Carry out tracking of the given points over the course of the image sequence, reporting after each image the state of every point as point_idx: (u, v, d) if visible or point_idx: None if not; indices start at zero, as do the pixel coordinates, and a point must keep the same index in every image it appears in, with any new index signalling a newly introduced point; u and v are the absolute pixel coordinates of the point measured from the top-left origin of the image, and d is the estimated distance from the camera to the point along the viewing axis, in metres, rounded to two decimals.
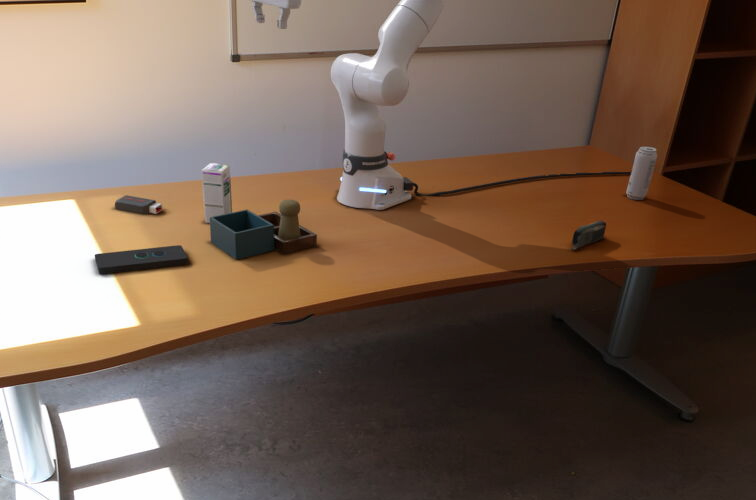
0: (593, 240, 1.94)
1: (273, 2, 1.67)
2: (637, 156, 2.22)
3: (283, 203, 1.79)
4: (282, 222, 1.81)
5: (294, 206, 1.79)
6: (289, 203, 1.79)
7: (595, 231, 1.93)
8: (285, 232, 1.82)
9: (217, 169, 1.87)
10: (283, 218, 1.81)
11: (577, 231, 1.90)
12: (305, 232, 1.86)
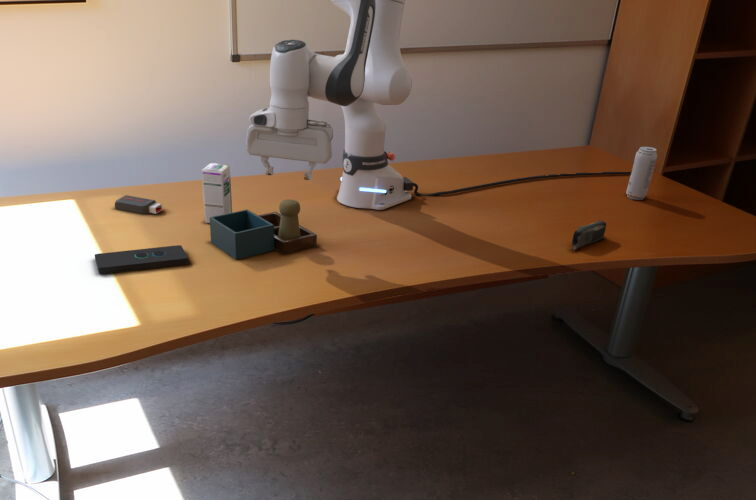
0: (593, 240, 1.94)
1: (303, 158, 1.72)
2: (637, 156, 2.22)
3: (283, 203, 1.79)
4: (282, 222, 1.81)
5: (294, 206, 1.79)
6: (289, 203, 1.79)
7: (595, 231, 1.93)
8: (285, 232, 1.82)
9: (217, 169, 1.87)
10: (283, 218, 1.81)
11: (577, 231, 1.90)
12: (305, 232, 1.86)
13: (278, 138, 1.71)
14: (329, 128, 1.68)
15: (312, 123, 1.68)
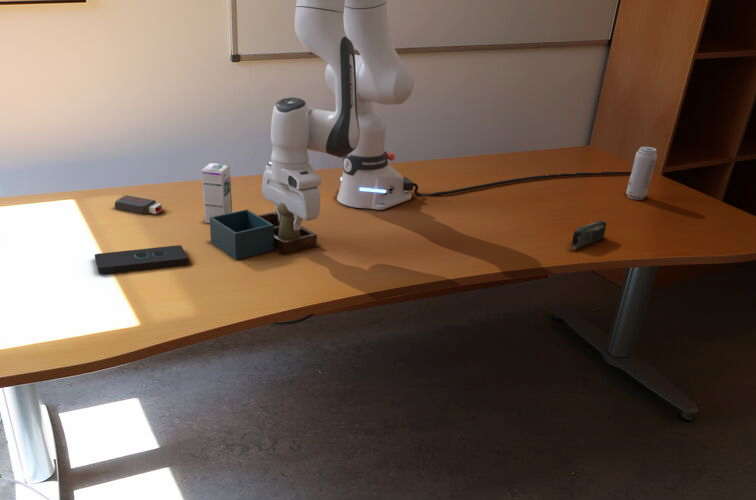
0: (593, 240, 1.94)
1: None
2: (637, 156, 2.22)
3: (283, 203, 1.79)
4: (282, 222, 1.81)
5: None
6: None
7: (595, 231, 1.93)
8: (285, 232, 1.82)
9: (217, 169, 1.87)
10: (283, 218, 1.81)
11: (577, 231, 1.90)
12: (305, 232, 1.86)
13: None
14: None
15: None
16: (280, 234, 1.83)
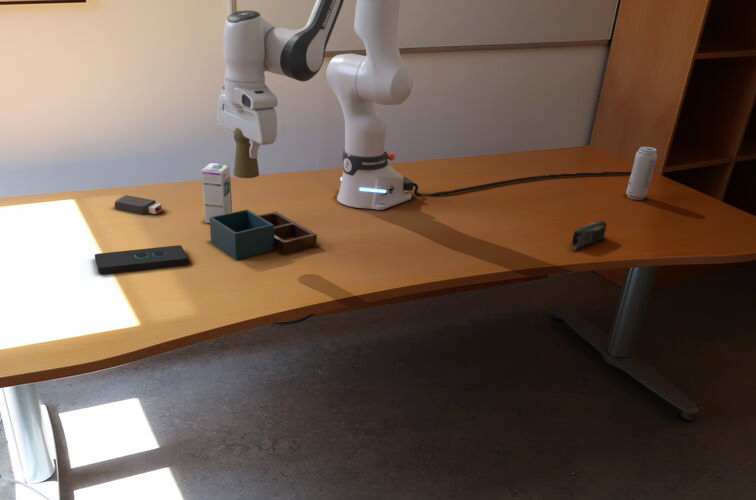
0: (593, 240, 1.94)
1: None
2: (637, 156, 2.22)
3: (238, 128, 1.67)
4: (237, 149, 1.69)
5: None
6: None
7: (595, 231, 1.93)
8: (241, 161, 1.69)
9: (217, 169, 1.87)
10: (238, 145, 1.68)
11: (577, 231, 1.89)
12: (305, 232, 1.86)
13: None
14: None
15: None
16: (236, 163, 1.70)
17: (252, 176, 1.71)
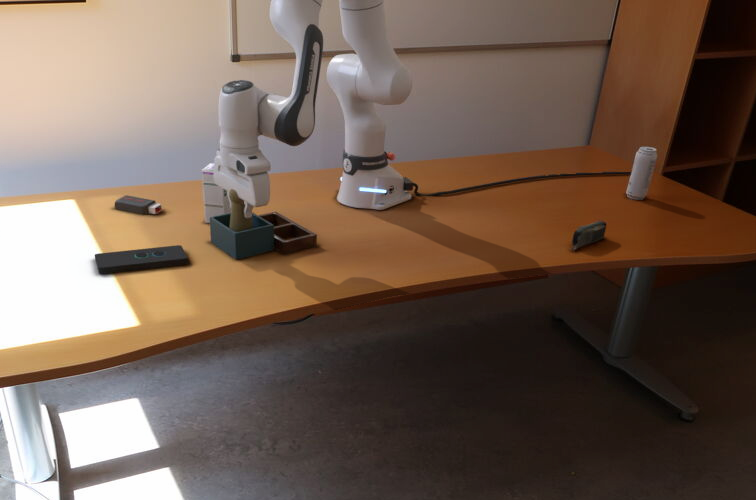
0: (593, 240, 1.94)
1: None
2: (637, 156, 2.22)
3: (233, 189, 1.74)
4: (233, 209, 1.76)
5: None
6: None
7: (595, 231, 1.93)
8: (236, 220, 1.76)
9: None
10: (234, 205, 1.75)
11: (577, 231, 1.89)
12: (305, 232, 1.86)
13: None
14: None
15: None
16: (231, 222, 1.78)
17: None
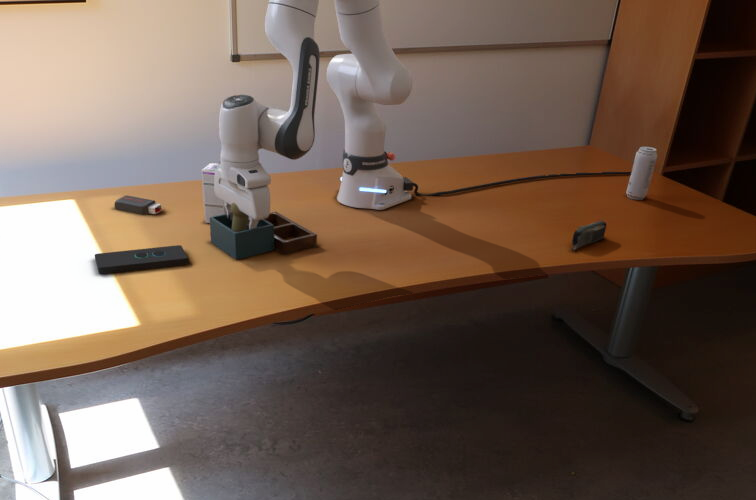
0: (593, 240, 1.94)
1: None
2: (637, 156, 2.22)
3: None
4: (234, 222, 1.78)
5: None
6: None
7: (595, 231, 1.93)
8: None
9: None
10: (235, 218, 1.77)
11: (577, 231, 1.89)
12: (305, 232, 1.86)
13: None
14: None
15: None
16: None
17: None
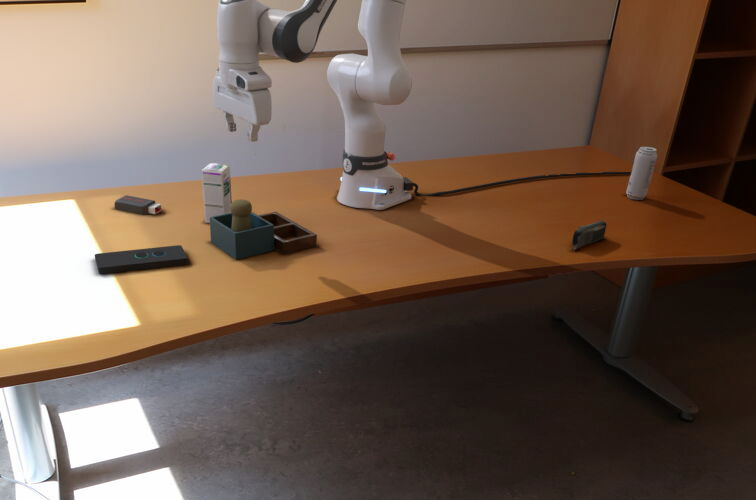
0: (593, 240, 1.94)
1: None
2: (637, 156, 2.22)
3: (234, 203, 1.76)
4: (233, 222, 1.78)
5: (245, 206, 1.75)
6: (239, 203, 1.76)
7: (595, 231, 1.93)
8: None
9: (217, 169, 1.87)
10: (234, 218, 1.77)
11: (577, 231, 1.89)
12: (305, 232, 1.86)
13: None
14: None
15: None
16: None
17: None
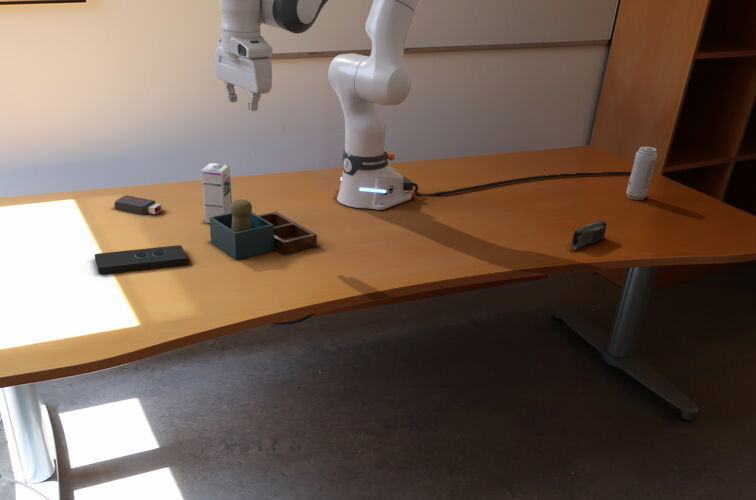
0: (593, 240, 1.94)
1: None
2: (637, 156, 2.22)
3: (234, 203, 1.76)
4: (233, 222, 1.78)
5: (245, 206, 1.75)
6: (239, 203, 1.76)
7: (595, 231, 1.93)
8: None
9: (217, 169, 1.87)
10: (234, 218, 1.77)
11: (577, 231, 1.89)
12: (305, 232, 1.86)
13: None
14: None
15: None
16: None
17: None
